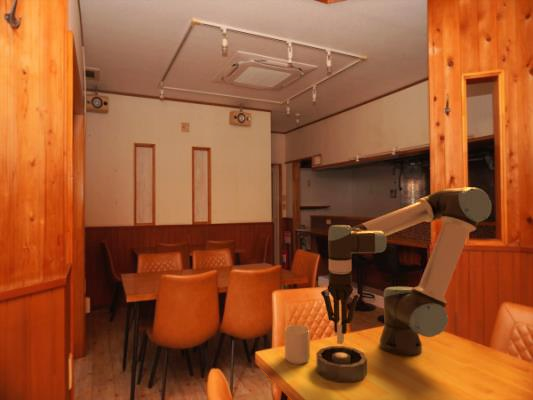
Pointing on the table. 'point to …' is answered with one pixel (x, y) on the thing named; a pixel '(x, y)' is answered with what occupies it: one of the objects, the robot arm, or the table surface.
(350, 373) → the brown ring
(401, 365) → the table surface
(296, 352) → the mug
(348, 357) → the brown short cylinder
